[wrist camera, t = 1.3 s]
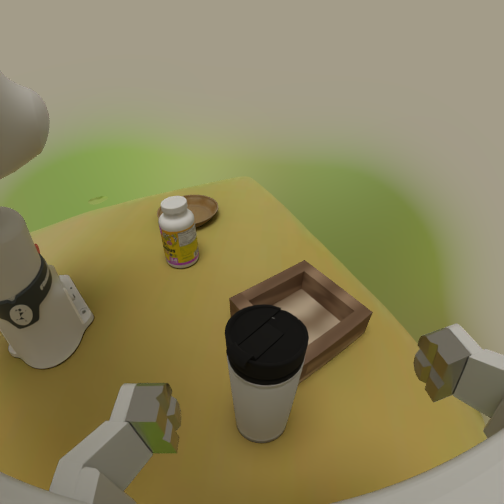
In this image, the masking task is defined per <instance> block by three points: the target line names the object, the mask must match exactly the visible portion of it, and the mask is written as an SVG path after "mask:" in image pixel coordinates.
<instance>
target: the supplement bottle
mask: <svg viewBox="0 0 504 504" xmlns="http://www.w3.org/2000/svg"><path fill="white" fill-rule="evenodd" d="M187 206H188V205H187V200H186V198H184V197H182V196H172V197H168V198H166V199H164V200H163V201H162V202H161V210H162V212H163V213H162V214H161V216H160V217H159V227H160V232H161V237H162V242H163V247H164V252H165V256H166V260H167V262H168V264H169V265H171V266H172V267H175V268H186V267H189V266H191V265H193V264H194V263H195V262H196V261H197V260H198V257H199V251H198V243H197V236H196V228H195V219H194V215H193V213H192V212H191V211H190V210H189V209H187Z"/></svg>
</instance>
